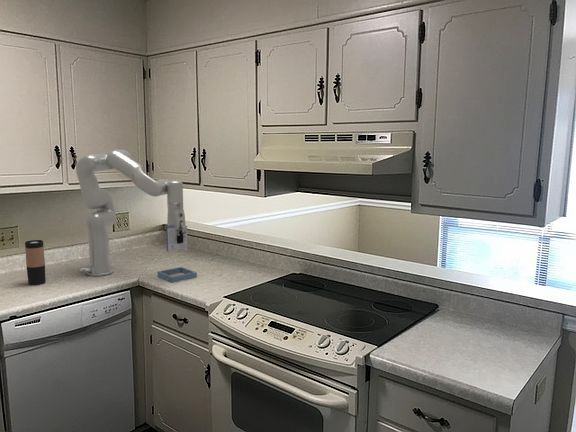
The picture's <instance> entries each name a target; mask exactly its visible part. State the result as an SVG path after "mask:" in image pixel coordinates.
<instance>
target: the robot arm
mask: <svg viewBox="0 0 576 432" xmlns="http://www.w3.org/2000/svg"><path fill="white" fill-rule="evenodd" d="M113 169H114V170H116V171H117V172H119V173H121V174H123V175H124V176H125V177H127V178H128V179H129V180H130V181H131V182H132V183H133V184H134V185H135V187H137V188H138V189H140V190H141V191H142V192H144V193H146V194H147V195H149V196H151V197H155V198H157V197H160V196H164V195H165V196H166V198H167V199H166V201H167V205H166V206H167V217H166V219H167V223H166V226H171V227H174V229H175V230H177V234H178V235H177V243H178V244H179V243H183V235H184V231H185V228H186V226H187V225H186V215H185V210H184V209H185V208H184V187H183V186H184V184H183V181H181V180H169V179H168V180H166V179H157V180H155V179H153V178H152V177H150V176H149V175H147V174H146V173H145V172H144V171H143V166H142V164H140V163H139V162H137V161H136V160H134V159H133V158H132V155H131V153H130V152H128V151H127V150H126V149H113V150H109V152H105V153H104V152H103V153H91V154H86V155H84V156H82V157H80V159H79V160H78V161H77V163H76V166H75V173H76V177H77V180H78V182H79V188H80V192H81V196H82V201H83V204H84V206H85V207H86V208H87V209H88V210H96V211H93V212H91V213H89V214H88V215H87V216H86V218H85V226H86V231H87V239H88V254H89V255H88V257H89V264H87V266H86V267H80V268H79V272H81V273H82V272H84V273H86V275H87V276H90V277H104V276H109V275H111V274H113V273H114V271H115V270H114V268H112V267H111V260H110V259H111V257H110V255H111V253H110V238H109V234H108V230H107V229H108V228H110V227H112V226H114V224H115V223H116V221H117V214H116V211H115V206H114V202H113V198H112V195H111V193H110V192H109V191H108V190H106V189H105V188H100V185H99V180H98V178H97V176H96V175H95V172H102V171H107V170H113ZM180 227H181V229H179V228H180ZM179 230H181V231H180V232H179Z"/></svg>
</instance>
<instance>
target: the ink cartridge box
mask: <svg viewBox="0 0 576 432" xmlns="http://www.w3.org/2000/svg"><path fill="white" fill-rule="evenodd" d="M179 229H181V227H180V228H179ZM180 231H181V230H179V232H180ZM177 235H178V234H177V230H175V229H174V227H171V226H167V225H166V226H165V238H166V241H165V242H166V251H167V252H168V253H171V252H172V253H173V252H174V253H175V252H182V251H183V252H184V251H188V250H189V249H188V226H187V225H186V228H185V231H184V235H183V243H179V244H178V243H177Z"/></svg>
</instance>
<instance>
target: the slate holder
mask: <svg viewBox="0 0 576 432" xmlns="http://www.w3.org/2000/svg"><path fill="white" fill-rule="evenodd" d="M156 273H157V275H156V277H158V278H160V279H162V280H165V281H167V282H170V283H177V282H181V280H182V281H186V280H191V279H193V278H194V279H195V278H197V277H198V275H197V273H198V272H197V271H195V270H192V269H189V268H187V267H184V266H177V267H173V268H168V269H164V270H162V269H161V270H158V271H157V272H156ZM178 273H182V274H179V275H174V274H178ZM171 275H174V276H171Z"/></svg>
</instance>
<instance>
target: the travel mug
mask: <svg viewBox="0 0 576 432" xmlns="http://www.w3.org/2000/svg"><path fill="white" fill-rule="evenodd" d="M24 247H25V250H24V251H25V264H26V273H27V281H28V282H27V283H28V285H29V286H41V285H43V284H46V261H45V249H44V248H45V246H44V240H42V239H41V240H40V239H34V240H33V239H32V240H27V241H25V242H24Z"/></svg>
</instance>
